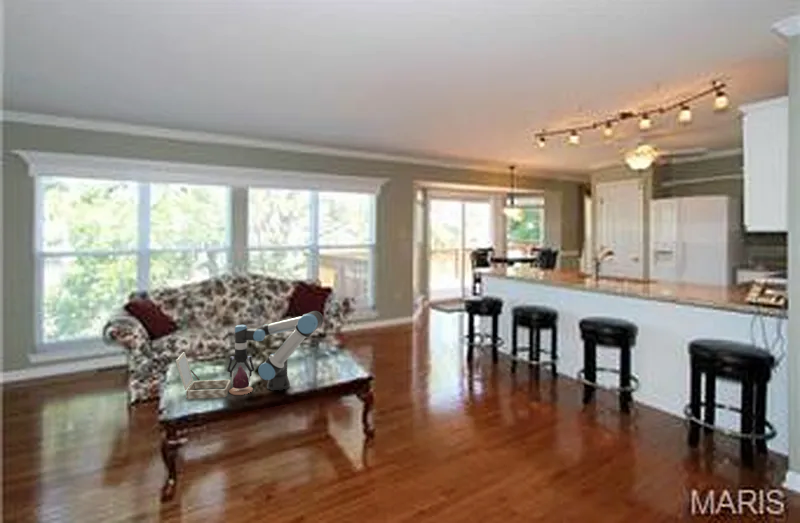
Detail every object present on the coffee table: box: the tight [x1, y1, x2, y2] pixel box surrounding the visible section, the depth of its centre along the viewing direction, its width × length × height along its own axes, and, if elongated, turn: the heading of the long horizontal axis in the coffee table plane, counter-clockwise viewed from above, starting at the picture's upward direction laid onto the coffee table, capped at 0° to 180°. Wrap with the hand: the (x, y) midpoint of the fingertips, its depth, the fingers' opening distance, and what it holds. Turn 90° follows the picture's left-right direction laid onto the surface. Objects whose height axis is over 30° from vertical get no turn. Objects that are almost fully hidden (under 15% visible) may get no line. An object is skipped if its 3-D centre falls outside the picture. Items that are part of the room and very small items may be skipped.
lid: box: [175, 351, 194, 391], centre depth 323 cm, size 20×20×1 cm
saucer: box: [228, 385, 254, 396], centre depth 331 cm, size 15×15×1 cm
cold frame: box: [185, 369, 232, 400], centre depth 326 cm, size 26×20×13 cm
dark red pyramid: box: [232, 364, 250, 389], centre depth 331 cm, size 10×10×15 cm
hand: (240, 381), depth 330 cm, fingers closed on dark red pyramid, 10 cm apart
